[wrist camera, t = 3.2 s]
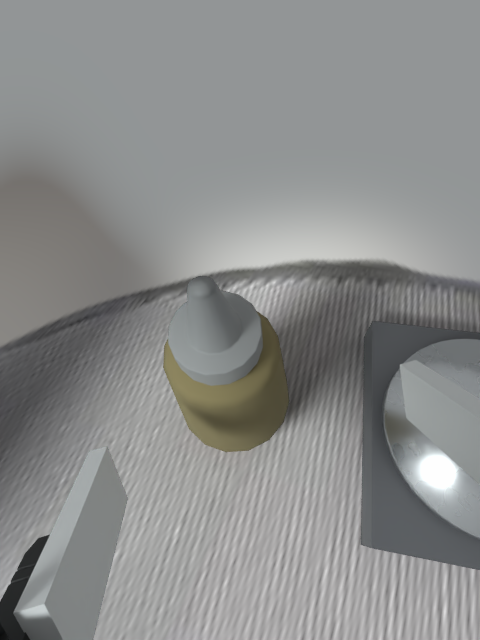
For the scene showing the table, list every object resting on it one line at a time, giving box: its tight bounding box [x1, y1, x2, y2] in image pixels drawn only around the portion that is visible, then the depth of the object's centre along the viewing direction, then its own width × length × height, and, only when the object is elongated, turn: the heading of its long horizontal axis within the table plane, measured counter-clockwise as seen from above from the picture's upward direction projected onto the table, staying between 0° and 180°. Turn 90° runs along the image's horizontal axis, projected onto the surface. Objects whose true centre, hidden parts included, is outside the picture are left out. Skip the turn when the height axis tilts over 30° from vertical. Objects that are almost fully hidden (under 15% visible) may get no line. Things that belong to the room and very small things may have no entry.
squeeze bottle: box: [163, 276, 289, 452], centre depth 22 cm, size 8×8×18 cm
